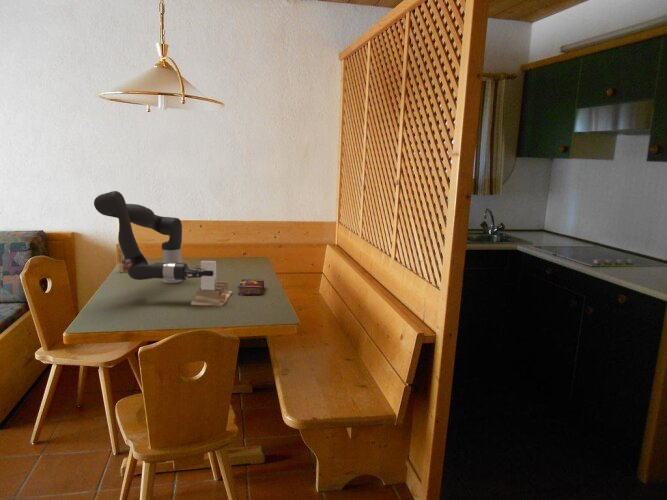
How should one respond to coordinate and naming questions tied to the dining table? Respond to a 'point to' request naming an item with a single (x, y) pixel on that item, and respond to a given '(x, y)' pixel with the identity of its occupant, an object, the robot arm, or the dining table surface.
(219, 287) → the slot rack
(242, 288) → the decorative book
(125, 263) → the candy box
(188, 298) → the dining table surface
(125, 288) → the dining table surface
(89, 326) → the dining table surface
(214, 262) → the aluminium block
